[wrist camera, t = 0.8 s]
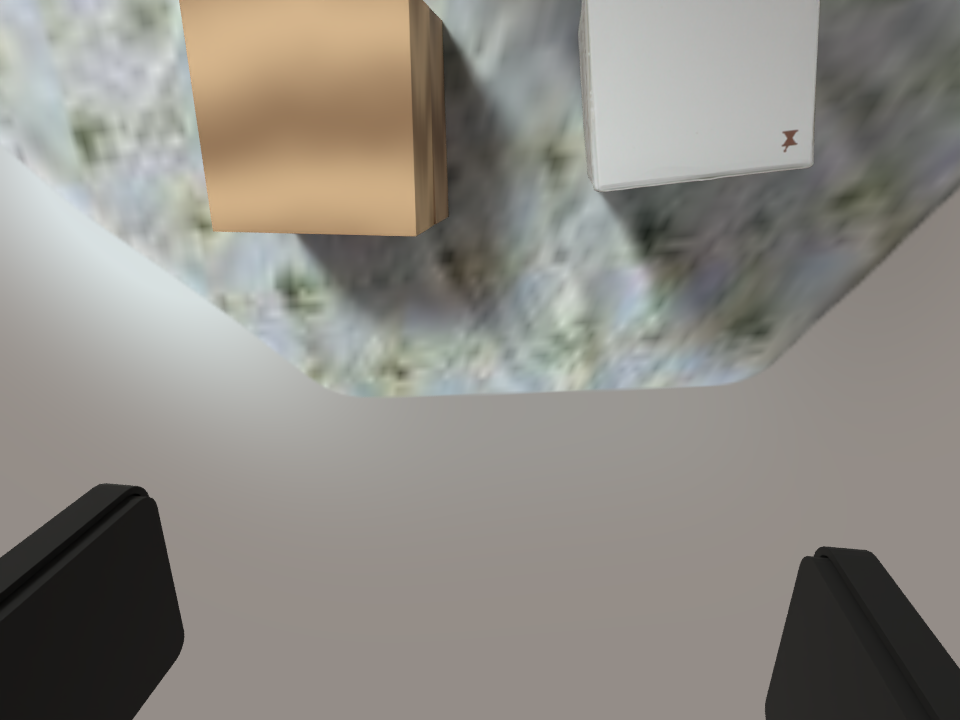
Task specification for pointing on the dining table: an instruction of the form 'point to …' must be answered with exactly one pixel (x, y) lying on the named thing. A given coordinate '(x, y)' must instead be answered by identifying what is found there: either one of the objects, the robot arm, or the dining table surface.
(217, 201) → the tower top
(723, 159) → the supplement box
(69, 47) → the dining table surface
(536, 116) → the dining table surface
